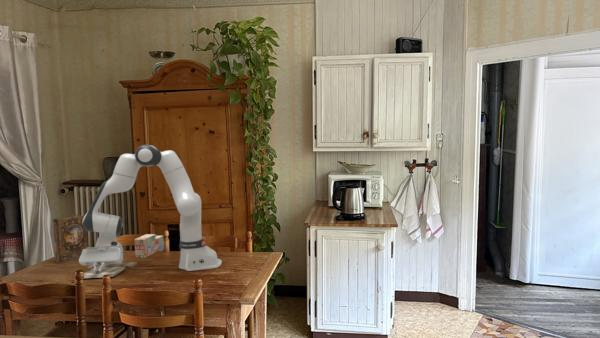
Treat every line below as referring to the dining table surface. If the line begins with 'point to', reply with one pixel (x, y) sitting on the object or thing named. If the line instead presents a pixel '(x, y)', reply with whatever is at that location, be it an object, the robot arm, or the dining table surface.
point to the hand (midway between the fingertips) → (97, 271)
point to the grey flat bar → (116, 265)
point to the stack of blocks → (148, 245)
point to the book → (69, 238)
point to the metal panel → (103, 272)
